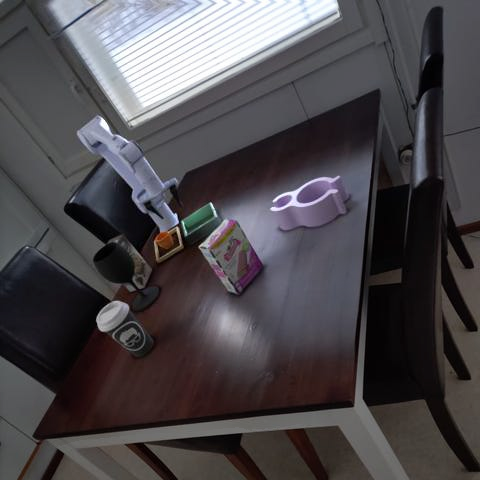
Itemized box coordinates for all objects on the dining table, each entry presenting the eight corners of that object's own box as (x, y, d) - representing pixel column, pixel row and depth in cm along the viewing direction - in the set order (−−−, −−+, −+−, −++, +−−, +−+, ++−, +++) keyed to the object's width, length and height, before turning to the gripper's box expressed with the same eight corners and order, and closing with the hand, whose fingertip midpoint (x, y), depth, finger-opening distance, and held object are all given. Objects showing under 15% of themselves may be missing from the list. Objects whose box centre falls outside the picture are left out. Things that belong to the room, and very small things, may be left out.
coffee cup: (163, 332, 125) (129, 295, 116) (149, 360, 120) (113, 324, 110) (138, 336, 130) (104, 301, 121) (124, 362, 125) (87, 328, 116)
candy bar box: (240, 295, 119) (208, 249, 109) (228, 292, 123) (196, 247, 113) (265, 266, 122) (237, 219, 112) (253, 263, 126) (224, 217, 116)
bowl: (162, 246, 161) (155, 236, 159) (174, 238, 161) (167, 228, 158) (163, 253, 157) (156, 243, 154) (176, 245, 156) (168, 235, 154)
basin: (186, 230, 162) (180, 221, 159) (216, 211, 160) (210, 202, 157) (191, 246, 152) (184, 236, 149) (223, 226, 150) (217, 216, 147)
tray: (156, 244, 166) (153, 241, 165) (179, 229, 164) (177, 226, 163) (159, 264, 154) (156, 261, 153) (184, 249, 153) (181, 245, 152)
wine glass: (136, 316, 138) (93, 269, 126) (129, 302, 146) (87, 257, 134) (163, 294, 139) (122, 246, 127) (154, 282, 147) (115, 235, 135)
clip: (277, 237, 129) (267, 218, 125) (285, 211, 137) (275, 192, 133) (345, 218, 119) (336, 197, 115) (349, 191, 127) (341, 170, 123)
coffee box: (145, 287, 148) (113, 251, 138) (130, 292, 151) (98, 257, 141) (153, 269, 154) (123, 233, 144) (138, 274, 157) (108, 239, 147)
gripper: (130, 195, 144) (155, 228, 152) (168, 170, 142) (191, 205, 150) (129, 187, 149) (153, 219, 157) (166, 163, 147) (189, 197, 155)
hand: (172, 212), depth 154 cm, fingers open, 7 cm apart
